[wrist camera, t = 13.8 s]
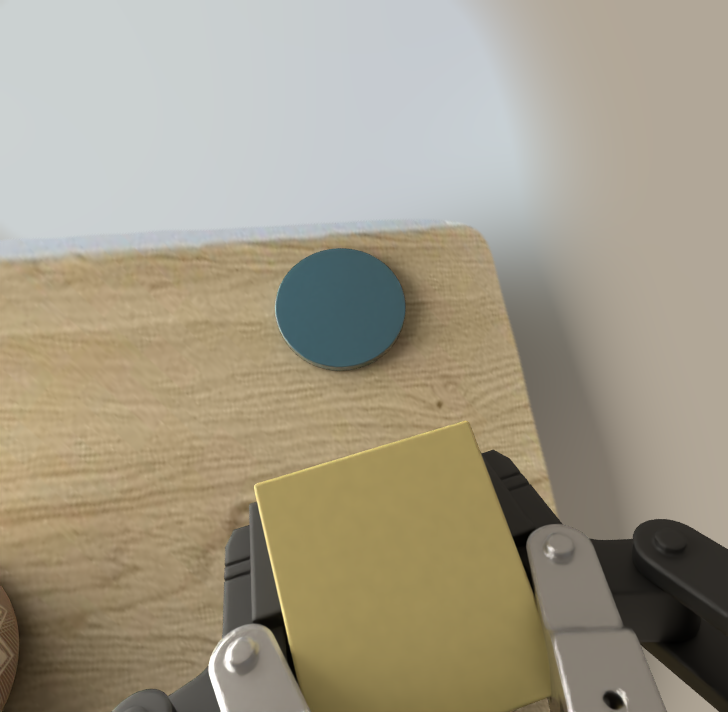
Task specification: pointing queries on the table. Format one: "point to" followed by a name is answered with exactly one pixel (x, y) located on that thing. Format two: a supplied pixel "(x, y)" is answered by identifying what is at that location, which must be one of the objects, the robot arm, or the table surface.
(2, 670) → the planter
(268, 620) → the robot arm
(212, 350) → the table surface
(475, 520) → the butter slice
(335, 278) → the plate
